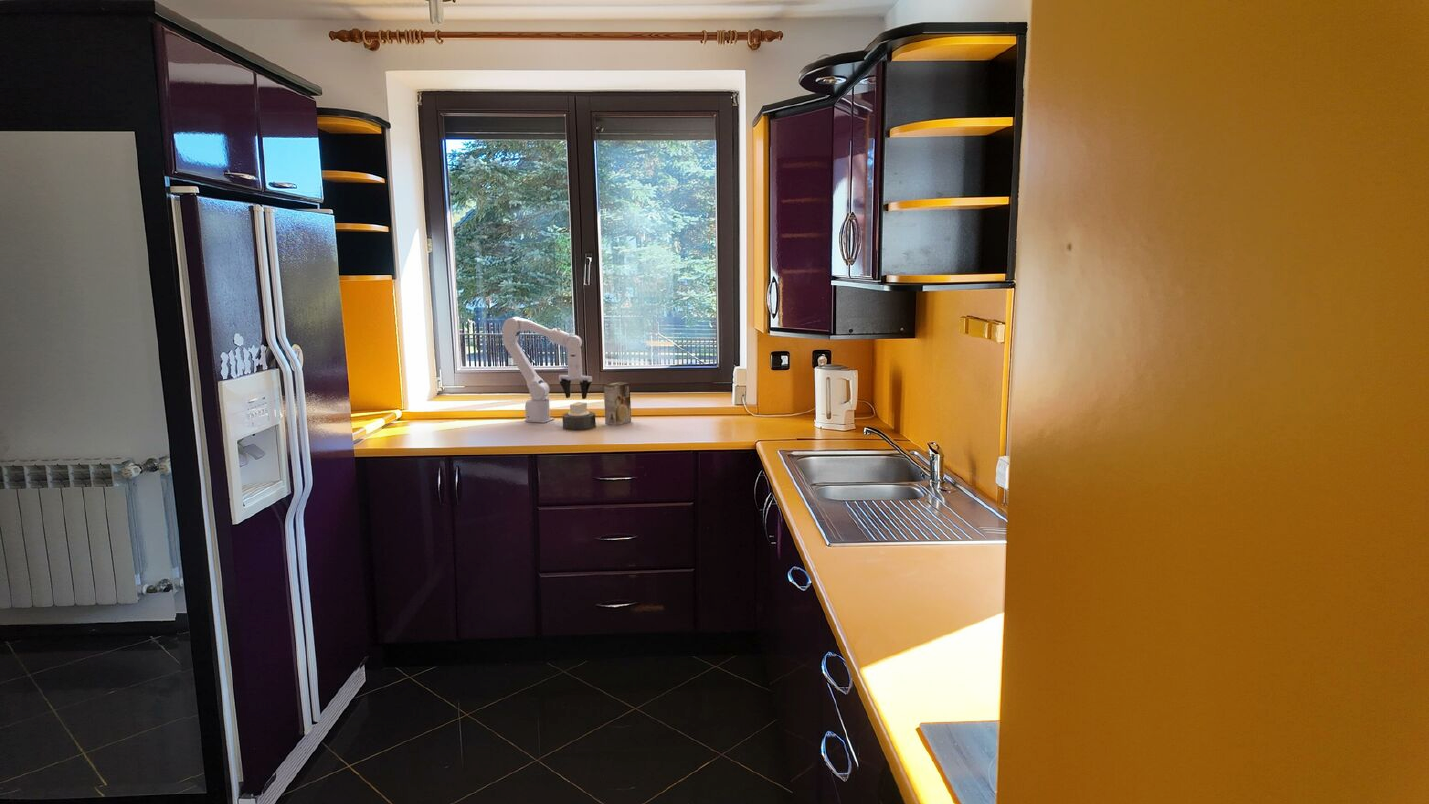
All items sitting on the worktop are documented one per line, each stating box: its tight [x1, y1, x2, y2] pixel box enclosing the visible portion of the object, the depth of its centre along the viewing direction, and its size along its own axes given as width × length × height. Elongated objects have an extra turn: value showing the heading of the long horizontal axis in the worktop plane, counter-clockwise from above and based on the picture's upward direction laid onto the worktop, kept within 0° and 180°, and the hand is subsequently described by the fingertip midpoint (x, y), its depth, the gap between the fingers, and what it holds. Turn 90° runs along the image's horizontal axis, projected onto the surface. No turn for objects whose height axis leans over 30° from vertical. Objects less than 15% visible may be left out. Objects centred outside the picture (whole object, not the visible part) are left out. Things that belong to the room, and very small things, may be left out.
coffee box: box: [603, 381, 632, 426], centre depth 338 cm, size 9×6×16 cm
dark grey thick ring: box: [561, 411, 597, 431], centre depth 332 cm, size 13×13×5 cm
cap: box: [567, 401, 590, 417], centre depth 331 cm, size 8×8×7 cm
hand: (576, 398), depth 343 cm, fingers open, 7 cm apart
